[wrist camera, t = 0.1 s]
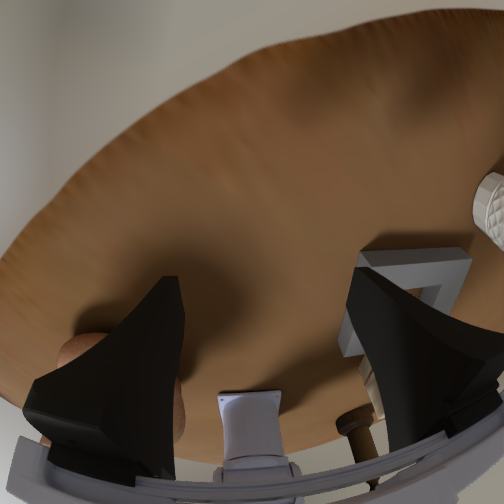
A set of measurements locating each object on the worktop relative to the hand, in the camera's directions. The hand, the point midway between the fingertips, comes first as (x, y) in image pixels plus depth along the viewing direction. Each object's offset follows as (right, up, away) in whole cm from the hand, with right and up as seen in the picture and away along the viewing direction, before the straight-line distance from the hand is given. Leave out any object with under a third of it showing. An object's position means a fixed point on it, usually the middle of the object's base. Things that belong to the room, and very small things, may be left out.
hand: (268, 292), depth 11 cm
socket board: (+15, -3, +15) cm, 21 cm away
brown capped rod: (+17, -27, +29) cm, 43 cm away
